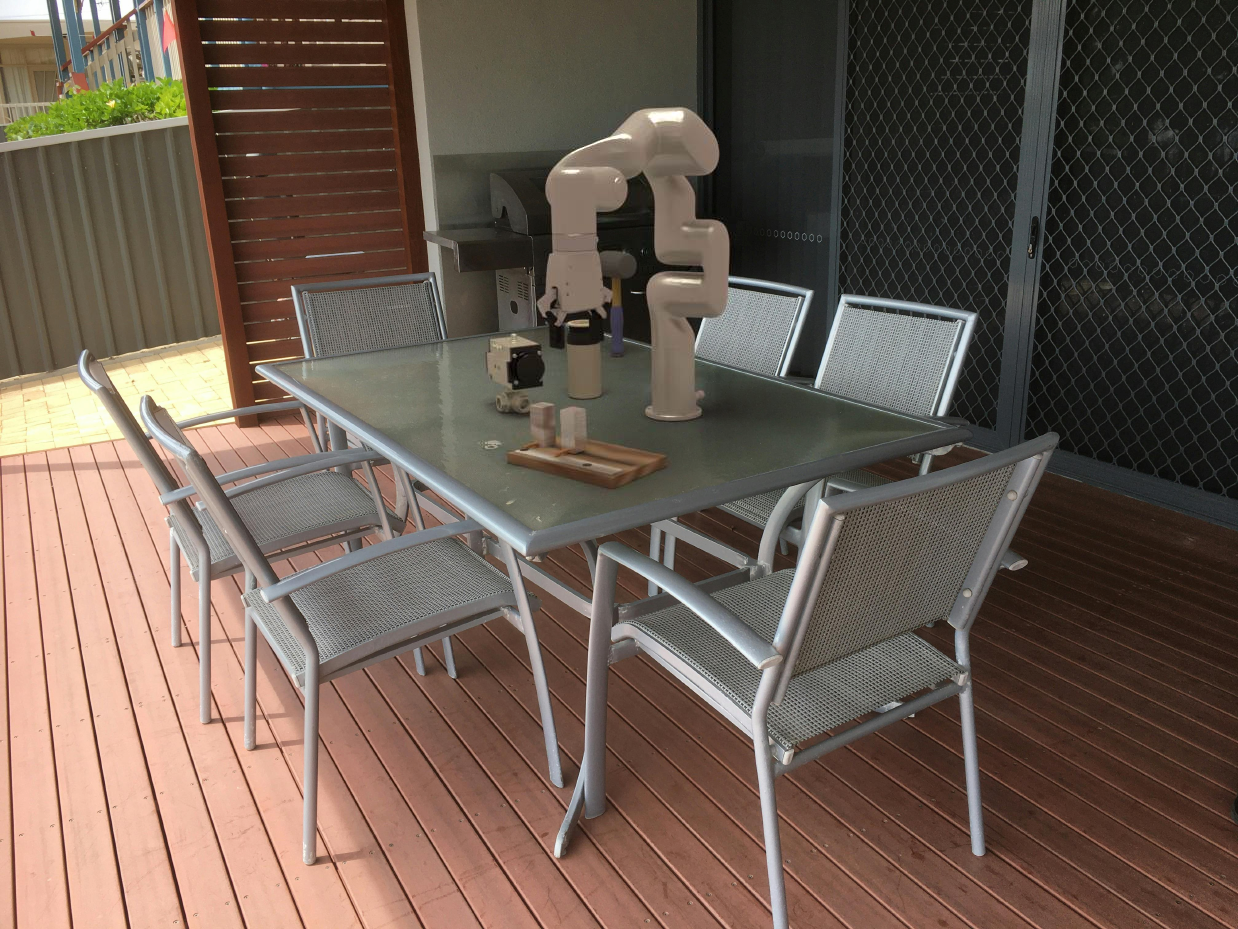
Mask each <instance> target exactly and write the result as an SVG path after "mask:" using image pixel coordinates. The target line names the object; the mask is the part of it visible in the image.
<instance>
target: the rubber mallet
mask: <svg viewBox="0 0 1238 929" xmlns="http://www.w3.org/2000/svg"><path fill="white" fill-rule="evenodd" d="M599 258H600V263H601V270H602V276H604V277H605V276H606V277H608V278H611V291H612V292H613V295H612V298H611V301H612V302H611V303H612V304H611V306H610V307H611V308H610V318H609V319H610V320H609V322H610V331H611V346H610V353H611V355H612V356H613V355H615V356H614V357H617V356H618V357H621V356H620V355H622V356H623V355H624V353H625V346H624V334H623V333H624V332H623V331H624V312H623V306H622V294H621V293H622V287H621V279H624V280H625V279H626V280H627V279H630V278H632V277H633V276H634V275H635V273H636V271H637V260H636V258H635V257H634V256H633V255H632V254H630V253H627V252H623V251H618V250H616V251H615V250H604V251H602V252H599Z"/></svg>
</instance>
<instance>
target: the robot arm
mask: <svg viewBox="0 0 1238 929" xmlns="http://www.w3.org/2000/svg"><path fill="white" fill-rule="evenodd" d="M718 143H719V142H718V140H717V138H716V137H715V134H714V133H713V131H712V130H711V129H710V128H709V127H708V126H707V124H706V123H705V122H704V121H703V120H702V118H701V117H700V116H699V115H698V114H697V113H695V112H694V111H692V110H690V109H689V108H686V107H681V106H677V107H658V108H653V107H652V108H644V109H640V110H636V112H634V113H632V114H631V115H630V116H629V117H628V118H627V119H626V120H625V121H624V122H623V123H622V124H621V125H620V126H619V127H617V129H616V130H615V131H614V132H613V133H612V134H611V135H610V136H608V137H606V138H603V139H600V140H598V141H596V142H595V141H594V142H593V143H591V144H588V145H585V146H584V147H580V148H578V149H576V150H574V151H572V152H570V153H568V154H566V155H565V156H564V157H562V158H561V160H559V162H557V164H556V165H554V167H553V168H552V169H551V171H550V173H549V174H548V177H547V178H546V183H545V196H546V200H547V201H548V203H549V205H550V207H551V208H550V209H551V234H552V235H551V236H552V238H551V240H552V241H551V242H552V253H549V256H548V260H547V264H546V265H547V266H546V278H545V293H544V295H543V296H542V297H540V298H539V299H538V300H537V301H536V305H537V307H538V310H539V312H540V316H541V317H542V319H543V320H544V321H545V325H548V331H549V333H548V336H549V337H548V338H549V347H550V348H551V349H557V350H564V349H565V347H566V338H565V335H566V334H565V325H562V323H563V322H564V320H565V318H566V317H567V314H574V313H575V314H576V313H581V312H588V313H589V315H590V316H589V317H588V320H589V339H590V340H595V341H600V342H604V341H605V319H607V312H608V310H609V309H610V307H611V304H610V303H612V302H611V301H612V295H613V292H612V289H609V288H607V287H606V286H604V283H603V282H604V281H603V275H602V270H601V263H600V258H599V254H600V252H599V251H598V247H597V246H598V245H597V244H598V242H599V237H598V236H597V212H598V213H599V212H601V213H604V212H606V213H608V212H613V211H615V210H618V209H619V208H620V207H621V206H623V204H624V202H625V201H626V199H627V196H628V188H629V187H628V183H627V180H629V179H632V178H634V177H636V176H638V175H640V174H641V173H642V172H643V174H644V176H645V177H646V179H647V181H648V183H649V185H650V187H651V189H652V193H653V197H654V252H655V257H656V259H657V261H658V262H660V263H662V264H665V265H672V266H692V267H693V266H696V267H697V266H700V267H702V269H703V272H700V271H699V272H697V271H695V272H693V271H678V270H677V271H675V270H674V271H673V270H670V271H667V270H666V271H660V272H658V273H656V274H654V275H653V276H651V277H650V278H649V280H648V283H647V285H646V292H645V293H646V300H647V307H648V311H649V318H650V331H651V332H650V333H651V335H650V336H651V405H648V406H647V407H646V408H645V410H644V412H645V413H644V414H645V415H646V417H648V418H650V419H653V420H656V421H664V422H665V421H667V422H669V421H670V422H679V421H689V420H692V419H697V418H698V417H700V416H701V415H702V407H700V406H698V405H697V402H698V401H699V400H703V399H704V398H705V396H706V394H705V392H704V391H703V390H698V391H695V390H696V389H695V388H696V387H695V386H696V385H695V384H696V383H695V380H696V378H695V375H696V372H695V371H696V368H695V367H696V366H695V365H696V361H695V359H696V337H695V332H694V331H693V328H692V326H691V325H690V323H689V321H688V320H687V318H697V319H698V318H700V319H702V318H703V319H714V318H719V317H721V316H722V315H723V314H724V313H725V311H726V308H727V304H728V296H729V295H728V293H729V275H730V274H729V272H730V270H729V268H730V267H729V266H730V237H729V233H728V229H727V227H726V226H725V224H724V223H723V222H721V221H719V220H717V219H716V220H715V219H700V218H699V219H697V218H696V194H695V191H694V189H693V187H692V185H691V183H690V182H689V180H688V178H686V176H688V177H689V176H706V175H710V173H712V172H713V171H714V170H715V169H716V167H717V166H718V163H719V158H720V149H719V144H718Z"/></svg>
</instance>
